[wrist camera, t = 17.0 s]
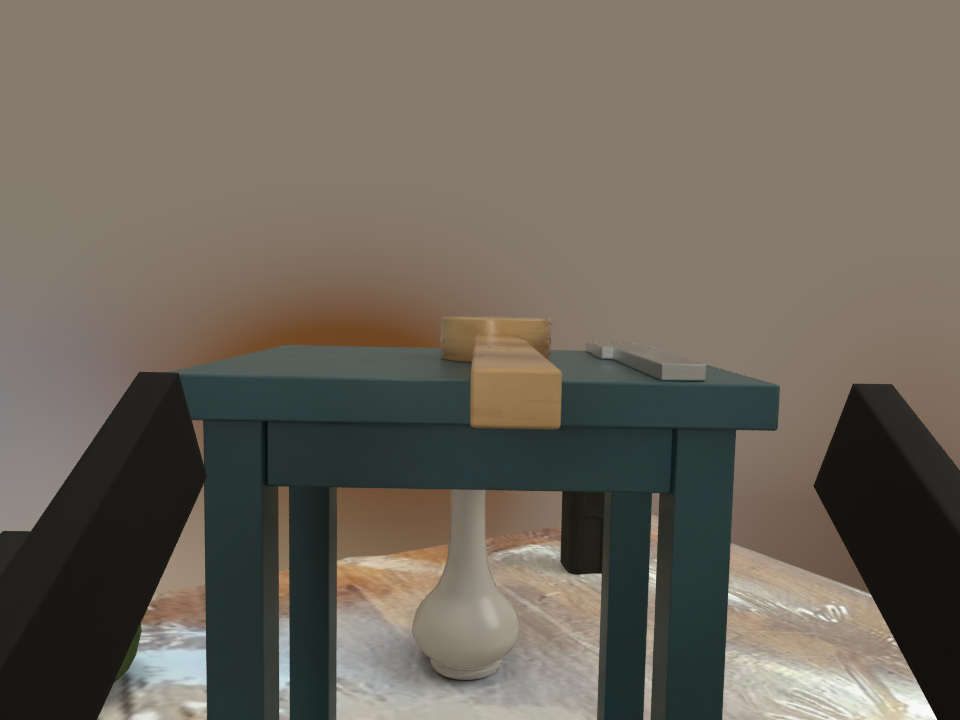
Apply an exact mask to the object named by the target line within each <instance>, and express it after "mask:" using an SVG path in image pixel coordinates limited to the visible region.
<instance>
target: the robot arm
mask: <svg viewBox="0 0 960 720" xmlns="http://www.w3.org/2000/svg"><path fill="white" fill-rule="evenodd" d="M206 477H207V475H206V472H205V468H204V464H203V461H202V457H201V453H200V450H199V446H198V442H197V438H196V435H195V431H194V428H193V424H192V420H191V416H190V413H189V409H188V405H187V402H186V398H185V394H184V390H183V387H182V383H181V379H180V376H179V373H166V372H164V373H163V372H162V373H161V372H160V373H159V372H139V373H138V375H137V376H136V377H135V379H134V380H133V382H132V383H131V385H130V386H129V388H128V389H127V391H126V392H125V394H124V395H123V397H122V398H121V400H120V401H119V403H118V404H117V405H116V407H115V408H114V410H113V411H112V413H111V414H110V416H109V417H108V419H107V420H106V422H105V423H104V425H103V426H102V428H101V429H100V430H99V432H98V433H97V435H96V436H95V438H94V439H93V441H92V442H91V444H90V445H89V447H88V448H87V450H86V451H85V453H84V454H83V455H82V457H81V458H80V460H79V462H78V463H77V465H76V466H75V467H74V469H73V470H72V472H71V473H70V475H69V476H68V478H67V479H66V480H65V482H64V484H63V485H62V486H61V488H60V489H59V491H58V492H57V494H56V495H55V497H54V498H53V500H52V501H51V503H50V504H49V506H48V507H47V509H46V510H45V511H44V513H43V515H42V516H41V517H40V519H39V520H38V522H37V523H36V525H35V526H34V528H33V529H32V531H31V532H28V531H3V532H2V533H1V534H0V720H97V718H98V716H99V714H100V712H101V710H102V707H103V705H104V703H105V701H106V699H107V696H108V694H109V692H110V690H111V687H112V685H113V683H114V681H115V679H116V676H117V674H118V672H119V670H120V668H121V665H122V663H123V661H124V659H125V657H126V654H127V652H128V650H129V648H130V645H131V643H132V641H133V639H134V637H135V634H136V632H137V630H138V628H139V626H140V623H141V621H142V619H143V617H144V615H145V612H146V610H147V608H148V606H149V603H150V601H151V599H152V597H153V595H154V592H155V590H156V588H157V586H158V584H159V581H160V579H161V577H162V575H163V573H164V570H165V568H166V566H167V564H168V561H169V559H170V557H171V555H172V553H173V550H174V548H175V546H176V544H177V542H178V539H179V537H180V535H181V533H182V530H183V528H184V526H185V524H186V522H187V519H188V517H189V515H190V513H191V511H192V508H193V506H194V504H195V502H196V500H197V497H198V495H199V493H200V491H201V488H202V486H203V484H204V482H205V480H206ZM814 488H815V490H816V492H817V494H818V495H819V497H820V499H821V501H822V503H823V505H824V507H825V509H826V510H827V512H828V514H829V516H830V518H831V520H832V522H833V524H834V525H835V527H836V529H837V531H838V533H839V535H840V537H841V539H842V541H843V542H844V544H845V546H846V548H847V550H848V552H849V554H850V556H851V558H852V559H853V561H854V563H855V565H856V567H857V569H858V571H859V573H860V575H861V576H862V578H863V580H864V582H865V584H866V586H867V588H868V589H869V591H870V593H871V595H872V597H873V599H874V601H875V603H876V605H877V607H878V609H879V610H880V612H881V614H882V616H883V618H884V620H885V622H886V624H887V625H888V627H889V629H890V631H891V633H892V635H893V637H894V639H895V641H896V642H897V644H898V646H899V648H900V650H901V652H902V654H903V656H904V658H905V659H906V661H907V663H908V665H909V667H910V669H911V671H912V673H913V674H914V676H915V678H916V680H917V682H918V684H919V686H920V688H921V690H922V691H923V693H924V695H925V697H926V699H927V701H928V703H929V705H930V707H931V708H932V710H933V712H934V714H935V716H936V718H937V720H960V470H959V469H958V467H957V466H956V465H955V464H954V463H953V461H952V460H951V459H950V457H949V456H948V455H947V453H946V452H945V451H944V450H943V449H942V447H941V446H940V445H939V443H938V442H937V441H936V440H935V438H934V437H933V436H932V434H931V433H930V432H929V431H928V429H927V428H926V427H925V425H924V424H923V423H922V422H921V421H920V419H919V418H918V417H917V415H916V414H915V413H914V411H913V410H912V409H911V408H910V406H909V405H908V404H907V403H906V401H905V400H904V399H903V397H902V396H901V395H900V394H899V393H898V391H897V390H896V389H895V388H894V386H893V385H892V384H853V385H852V388H851V390H850V393H849V395H848V398H847V401H846V403H845V406H844V408H843V411H842V414H841V416H840V419H839V421H838V424H837V427H836V429H835V432H834V435H833V437H832V440H831V442H830V445H829V447H828V450H827V453H826V455H825V458H824V460H823V463H822V465H821V468H820V471H819V473H818V476H817V479H816V481H815V484H814Z"/></svg>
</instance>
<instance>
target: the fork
mask: <svg viewBox="0 0 960 720" xmlns="http://www.w3.org/2000/svg"><path fill="white" fill-rule="evenodd" d="M586 351H587V352H589V353H591V354H592V355H594V356H596V357H598V358H600V359H603V360H615V361H617V362H620V363H622V364H624V365H627V366H629V367H631V368H633V369H636V370H638V371H640V372H643V373H645V374H647V375H650V376H652V377H654V378H656V379H659V380H661V381H686V382H704V381H705V380H706V364H704V363H700V362H696V361H693V360H689V359H685V358H682V357H678V356H674V355H671V354H668V353H664V352H660V351H657V350H656V347H652V346H649V345H645V344H632V343H622V344H620V343H617V342H615V343H614V342H611V343H605V342H598V343H594V342H586Z"/></svg>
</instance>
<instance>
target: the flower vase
mask: <svg viewBox="0 0 960 720" xmlns="http://www.w3.org/2000/svg"><path fill="white" fill-rule="evenodd" d="M485 496H486V490H460V489H451V521H450V539H449V550H448V557H447V562H446V565H445V569H444V571H443V574H442V576H441V578H440V581H439V583H438V584H437V586H436V587H435V588H434V589H433V590H432V591H431V592H430V593H429V594H428V595H427V596H426V597H425V599H424V600H423V601H422V602H421V604H420V605H419V607H418V608H417V610H416V613H415V616H414V621H413V626H412V632H413V636H414V638H415V641H416V643H417V645H418V646H419V648H420V649H421V650H422V651H423V652H424V653H425V654H426V655H427V656H428V657H429V658H430V663H431V665H432V667H433V669H434V670H435V671H436V672H438V673H439V674H441V675H443V676H445V677H448V678H452V679H458V680H474V679H480V678H483V677H487V676H489V675H491V674H493V673H494V672H495V671H496V670H497V669H498V668H499V666H500V664H501V659H502V658H503V657H504V656H505V655H506V654H507V653H508V652H509V651H510V650H511V649H512V648H513V647H514V645H515V643H516V641H517V639H518V637H519V634H520V626H519V620H518V615H517V612H516V610H515V608H514V606H513V605H512V604H511V602H510V601H509V600H508V598H507V597H506V596H505V595H504V594H503V593H502V592H501V591H500V590H499V589H498V587H497V586H496V584H495V582H494V579H493V577H492V574H491V572H490V569H489V565H488V560H487V552H486V534H485V533H486V531H485Z"/></svg>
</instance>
